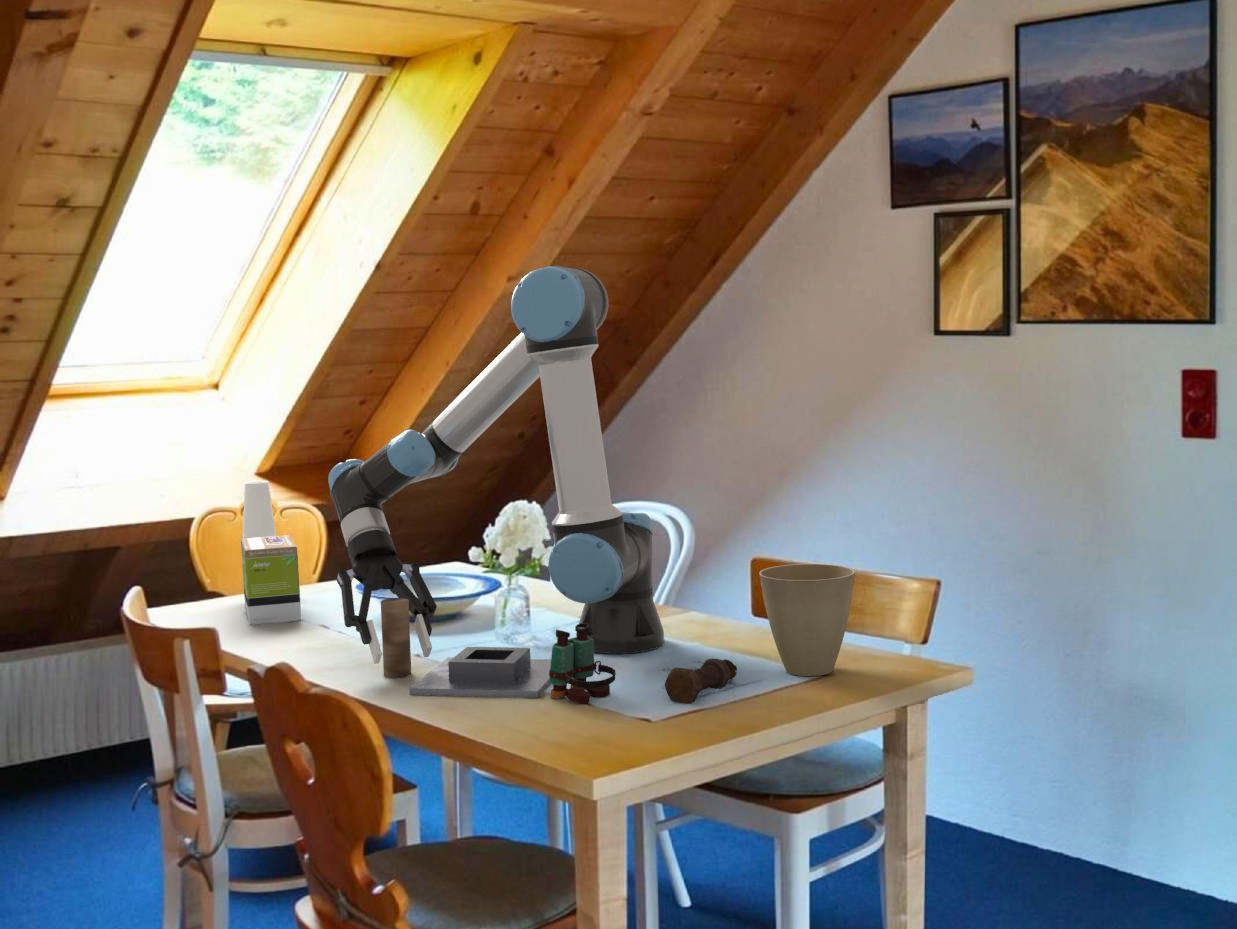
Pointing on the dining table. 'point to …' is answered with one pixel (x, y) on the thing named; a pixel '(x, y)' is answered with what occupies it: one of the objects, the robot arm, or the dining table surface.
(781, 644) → the plant pot
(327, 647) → the dining table surface
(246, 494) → the grey tapered column
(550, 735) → the dining table surface
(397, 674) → the peg
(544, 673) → the socket
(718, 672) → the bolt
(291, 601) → the tea box
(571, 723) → the dining table surface
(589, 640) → the binoculars
